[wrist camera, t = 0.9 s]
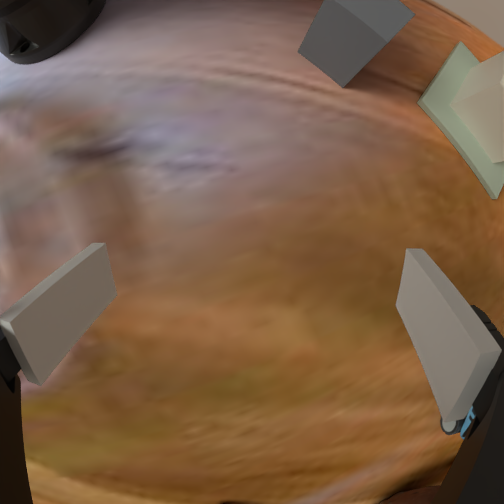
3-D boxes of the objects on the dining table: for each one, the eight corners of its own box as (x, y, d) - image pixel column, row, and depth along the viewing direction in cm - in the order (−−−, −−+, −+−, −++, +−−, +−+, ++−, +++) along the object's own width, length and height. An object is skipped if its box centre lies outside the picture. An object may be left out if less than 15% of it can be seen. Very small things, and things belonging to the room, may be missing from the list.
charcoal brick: (297, 51, 27) (326, -5, 17) (328, 25, 27) (361, -28, 17) (342, 88, 28) (388, 42, 18) (370, 58, 28) (415, 14, 18)
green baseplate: (416, 102, 29) (421, 100, 28) (456, 43, 29) (460, 40, 28) (491, 199, 31) (497, 198, 30) (520, 126, 31) (524, 125, 30)
